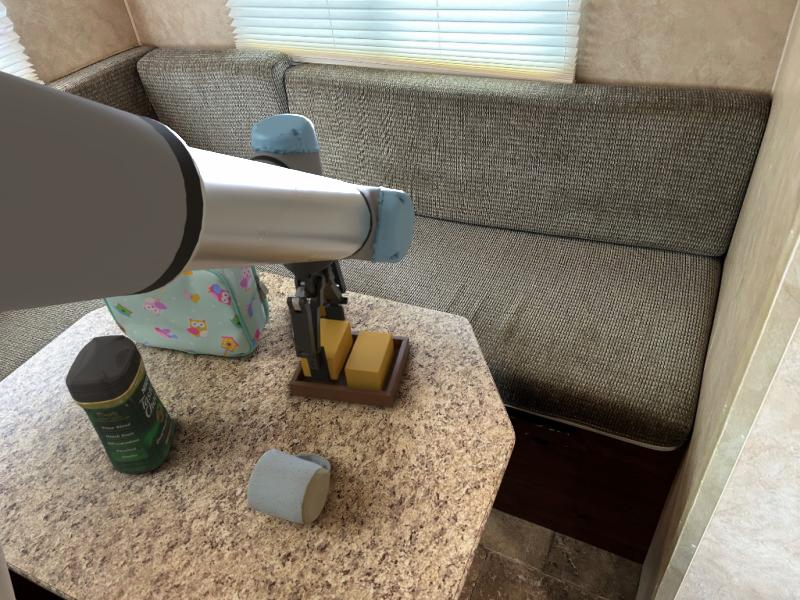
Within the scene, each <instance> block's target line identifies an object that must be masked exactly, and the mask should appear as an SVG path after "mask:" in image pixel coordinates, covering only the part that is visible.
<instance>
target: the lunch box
mask: <svg viewBox="0 0 800 600" xmlns="http://www.w3.org/2000/svg"><path fill="white" fill-rule="evenodd" d="M269 294H270V290H269V289H268V286H267V285H266V283H265V282H264V281H263V280H261V277H260V275H259V273H258V269H257V266H249V267H236V268H224V269H211V270H198V271H186V272H183V273H182V274H181V275H180V276H179V277H178V278H177V279H176V280H175V281H173V282H172V283H171V284H169V285H167V286H165V287H164V288H162V289H159V290H156V291H153V292H149V293H143V294H137V295H128V296H117V297H110V298H103V299H102V300H103V302H104V304H105V306H106V308H107V310H108V311H109V313H110V315H111V317H112V319H113V320H114V322H115V324H116V325H117V327H118V328H119V330H120V331H121V332H122V333H123V335H124V336H125V335H126V337H128V338H129V339H131V340H132V341H135V342H137V343H140V344H142V345H143V346H147V347H154V348H160V349H169V350H175V351H180V352H185V353H188V354H190V355H191V354H192V355H213V356H219V357H227V358H233V357H235V358H237V357H244V356H247V355H249V354H252V353H253V352H254V350H255V349H256V347H257V344H258V340H259V339H260V336H261V334H262V332H263V330H264V327H265V326H266V325H267V324H268V322H269V319H270V306H269V302H268V301H269V300H268V297H267V295H269Z"/></svg>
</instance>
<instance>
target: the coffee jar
mask: <svg viewBox="0 0 800 600" xmlns="http://www.w3.org/2000/svg"><path fill="white" fill-rule="evenodd" d="M64 382H65V385H66V387H67V390H68V392H69V394H70V397H71V399H72V401H74V403H75V404H76V405H77V406H79V407H80V408H81V409H82V410H83V411H84V413H85V414H86V415H87V417H88V419H89V421H90V423H91V425H92V427H93V428H94V431H95V432H96V435H97V436H98V438H99V440H100V442H101V445H102V447H103V450H104V451H105V454H106V455H107V457H108V459H109V462H110V463H111V465H112V467H113V468H114V470H115V471H117V472H118V473H122V474H124V475H125V474H127V475H136V474H144V473H146V472H151V471H153V470H155V469H157V468H158V467H160V466H161V465H163V463H164V462H165V461H166V459H167V457H168V454H169V452H170V451H171V447H172V444H173V442H174V436H175V432H176V431H175V430H176V426H175V422H174V421H173V419H172V417H171V415H170V413H169V411H168V410H167V408H166V406H165V405H164V403H163V402H162V400H161V399H160V396H159V394H158V393H157V391H156V389H155V388H154V386H153V384H152V382H151V380H150V378H149V376H148V373H147V369H146V365H145V363H144V359H143V356H142V354H141V353H140V350H139V349H138V347H137V344H136V343H135V342H134V340H133V339H131V338H130V337H128V336H125V334H112V335H111V334H110V335H102V336H101V335H100V336H94V337H92V338H91V340H89V342H88V343H86V344H85V345H84V346H83V347H82V348H81V349H80V350H79V352H78V354H77V355H76V357H75V358H74V360H73V362H72V364H71V366H70V368H69V370H68V372H67V374H66V378H65V381H64Z"/></svg>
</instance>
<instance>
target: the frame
mask: <svg viewBox="0 0 800 600" xmlns="http://www.w3.org/2000/svg"><path fill="white" fill-rule="evenodd" d="M359 332H360V331H354V330H353V331H352V330H351V333H352V339H353V343H352V345H351V348H350V350H349V352H348V355H347V357H346V359H345V362H344V364H343V367H342V369H341V371H340V374H339V376H338V379H337V380H334V379H330V381H329V382H328V381H319V380H312V377H310V376H305V375H304V371H303V367H302V363H301V359H300V360H299V362H298V365H297V366H296V369H295V371H294V373H293V375H292V377H291V379H290V380H289V382H288V387H289V390H290V393H291V396H294V397H302V398H311V399H317V400H324V401H325V400H326V401H334V402H341V403H349V404H358V405H364V406H371V407H373V406H374V407H380V408H387V409H392V407H393V406H394V405H393V404H394V401H395V398H396V395H397V392H398V389H399V385H400V383H401V379H402V376H403V373H404V369H405V366H406V364H407V363H406V362H407V359H408V357H409V353H410V350H411V346H410V345H411V344H410V336H402V335H393V334H392V337H393V345H394V353H395V354H394V357H393V360H392V363H391V366H390V369H389V372H388V375H387V378H386V381H385V384H384V387H383V390H382V391H375V390H367V389H359V388H351V387H348V384H347V379H346V374H345V366H346V364H347V361H348V359H349V356H350V354H351V352H352V349H353V347H354V344H355V342H356V339H357V337H358V335H359Z"/></svg>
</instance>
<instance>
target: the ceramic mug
mask: <svg viewBox="0 0 800 600" xmlns="http://www.w3.org/2000/svg"><path fill="white" fill-rule="evenodd" d="M330 478H331V463H330V461H329V460H328V459H327V458H325V457H324V456H322V455H320V454H316V453H310V452H302V453H298V454H295V455H292V454H290V453H287V452H284V451H282V450H279V449H275V448H272V449H269V450H267V451H265V452H264V453H263V454H262V455H261V456H260V458H258V460H257V461H256V464H255V466H254V467H253V469H252V472H251V474H250V476H249V480H248V483H247V488H246V489H247V490H246V498H247V499H246V500H247V505H248V507H249V508H250V509H251V510H253V511H256V512H260V513H263V514H266V515H270V516H272V517H276V518H279V519H283V520H286V521H289V522H291V523H296V524H302V525H308V524H309V525H310V524H312V523H313V522H314V521H315V520H316V519H318V517H319V516H320V514H321V513H322V511H323V509H324V507H325V505H326V502H327V500H328V496H329V491H330V482H331V479H330Z"/></svg>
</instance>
